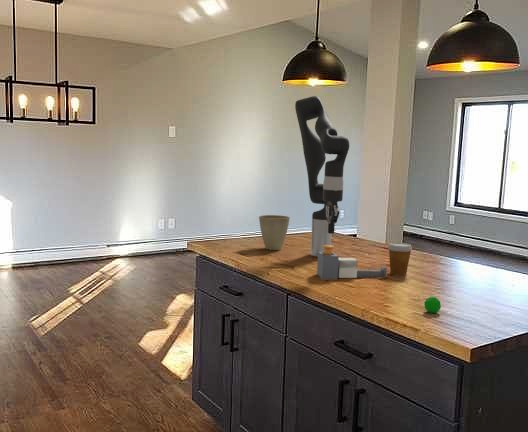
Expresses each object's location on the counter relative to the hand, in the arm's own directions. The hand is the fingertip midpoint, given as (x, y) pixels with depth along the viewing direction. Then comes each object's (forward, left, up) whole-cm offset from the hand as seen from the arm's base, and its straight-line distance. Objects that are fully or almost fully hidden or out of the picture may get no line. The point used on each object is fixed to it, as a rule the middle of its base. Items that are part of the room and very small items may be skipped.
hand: (330, 233), depth 218 cm
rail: (0, +12, -17) cm, 21 cm away
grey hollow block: (0, -1, -17) cm, 17 cm away
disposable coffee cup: (-6, +30, -17) cm, 35 cm away
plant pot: (-59, -14, -17) cm, 63 cm away
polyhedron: (+48, +21, -17) cm, 55 cm away
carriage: (0, +7, -17) cm, 18 cm away
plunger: (0, -1, -10) cm, 10 cm away
